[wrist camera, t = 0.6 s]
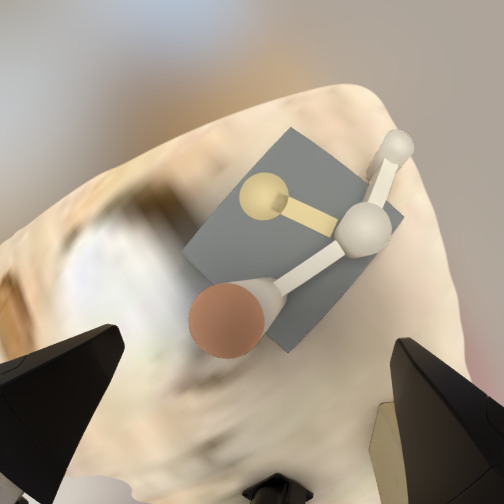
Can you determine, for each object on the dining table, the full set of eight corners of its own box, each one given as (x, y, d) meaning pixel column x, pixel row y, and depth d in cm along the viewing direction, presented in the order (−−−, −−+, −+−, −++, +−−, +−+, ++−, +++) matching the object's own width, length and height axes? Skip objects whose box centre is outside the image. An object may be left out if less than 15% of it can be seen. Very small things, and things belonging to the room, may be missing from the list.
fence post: (323, 236, 23) (346, 185, 9) (344, 267, 23) (398, 260, 9) (244, 289, 24) (161, 311, 10) (263, 319, 24) (204, 381, 10)
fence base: (360, 265, 24) (381, 263, 17) (326, 248, 25) (334, 239, 17) (397, 174, 24) (423, 142, 16) (365, 158, 24) (382, 121, 17)
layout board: (288, 350, 25) (287, 353, 23) (184, 252, 27) (180, 252, 26) (401, 219, 23) (405, 216, 22) (291, 131, 26) (290, 126, 25)
